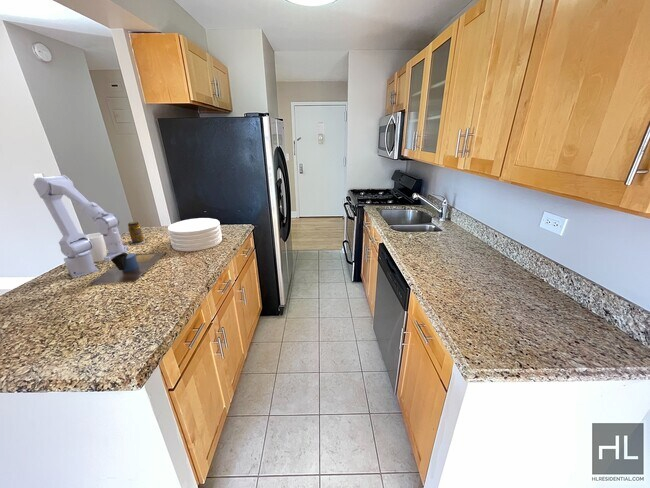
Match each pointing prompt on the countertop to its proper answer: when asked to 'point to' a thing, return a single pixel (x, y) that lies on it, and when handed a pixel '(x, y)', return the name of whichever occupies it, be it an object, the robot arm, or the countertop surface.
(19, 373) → the countertop surface
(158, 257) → the board
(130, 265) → the can
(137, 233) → the condiment
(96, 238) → the foam cup
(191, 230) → the plate stack
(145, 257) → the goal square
